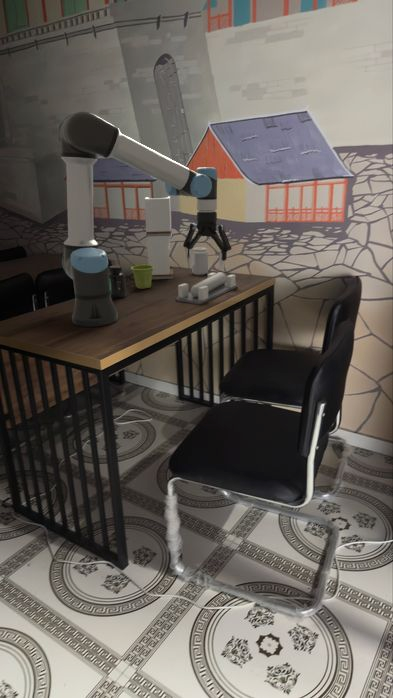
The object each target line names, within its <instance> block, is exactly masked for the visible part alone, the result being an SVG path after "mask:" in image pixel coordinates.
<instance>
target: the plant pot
mask: <svg viewBox="0 0 393 698" xmlns="http://www.w3.org/2000/svg"><path fill="white" fill-rule="evenodd" d="M130 268H131V269H130V270H132V273H133V277H134V282H135V285H136V288H137V289H141V290H144V289H149V288H151V287H152V280H153V279H152V271H153V268H154V266H152V265H148V264H137V265H134V266H133V265H132V266H131V267H130Z"/></svg>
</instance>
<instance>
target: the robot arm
mask: <svg viewBox="0 0 393 698" xmlns="http://www.w3.org/2000/svg"><path fill="white" fill-rule="evenodd" d="M57 135H58V136H57V137H58V141H59V144H60V151H61V152H60V156H61V157H60V158H61V159H62V160H63V162H64V163H65V164H66V166H65V167H66V198H67V199H66V200H67V201H66V203H67V207H66V208H67V231H68V232H67V235H68V236H67V237H68V238H66V240H65V241H64V242H63V255H62V258H61V264H62V266H61V267H62V268H63V271H64V273H65V274H66V275H67V277H69V278H70V279H72V281H73V288H74V289H73V290H74V305H73V312H72V314H71V320H72V324H73V325H76V326H78V327H88V328H89V327H91V328H92V327H93V328H94V327H102V326H106V325H111V324H113V323H115V322H116V321H118V319H119V315H118V311H117V308H115V304H114V301H113V298H111V294H110V282H109V273H110V272H109V259H108V256H107V255H108V254H107V253H106V252H105V250H103V249H100V248H99V243H98V242H97V241H96V239H95V238H94V236H95V234H94V233H95V232H94V165H95V164H96V163H97V162H98V156H101V157H103V158H106V159H111V158H113V159H115V160H117V161H119V162H121V163H123V164H125V165H128V166H130V167H131V168H133V169H135V170H138V171H139V172H142V173H144V174H146V175H148V176H150V177H152V178H155V179H156V180H158V181H161V182H163V183H164V187H165V191H166V193H167V195H168V196H170V197H171V196H175V197H177V196H178V197H179V196H184V197H193V198H196V210H197V212H196V221H197V223H195V222H192V223H190V224H189V230H188V232H187V235H186V237H185V240H184V242H183V245H182V246H183V248H185V249H187V258H189V267H192V266H193V265H195V249H194V248H195V247H194V246H195V245H196V243H198V242H199V240H200V239H201V237H210V238H211V239H212V240H213V241H214V242H215V244H216V246H217V247H218V248H219V251H220V252H219V270H225V268H226V267H225V261H227V258H228V257H227V253H228V251H231V250H232V246H231V243H230V241H229V238H228V236H227V234H226V231H225V225H224V224H220V225H218V224H217V221H218V219H217V218H218V217H217V216H218V212H217V209H218V170H217V169H216V168H215V167H197V168H196V171H194V170H192V169H190V168H189V167H186V166H185V165H183V164H181V163H179V162H176V161H175V160H172V159H171V158H169V157H167V156H165V155H163V154H161V153H159V152H158V151H156V150H154V149H152V148H150V147H147V146H146V145H144V144H142V143H140V142H138V141H137V140H134V139H133V138H131V137H129V136H127V135H125V134H123V133H121V131H120V128H119V127H117V126H115V125H113V124H112V123H110V122H108V121H107V120H104V119H103V118H101V117H99V116H98V115H96V114H95V113H91V112H90V111H84V110H83V111H77V112H74V113H72V114H69V115H67V116H66V117H64V118H63V119H62V120H61V122H60V124H59V126H58V131H57ZM196 230H197V231H196ZM217 231H218V232H217ZM194 234H195V235H194ZM193 236H194V237H193Z"/></svg>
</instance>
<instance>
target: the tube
mask: <svg viewBox="0 0 393 698" xmlns="http://www.w3.org/2000/svg"><path fill="white" fill-rule="evenodd" d="M227 276H228V275H227V274H225V272H220V271H218V272H216V274H215V275H213V276H211V277H209V278H208V277H207V278H205V279H204V280H202V281H199V282H197V283H195V284H194V285H192V287H191V288H190V292H191V295H192V296H193V297H196V298H198V288H200V287H202V286H208V293H209V292H211V291H212V290H214V289H216V288H218V287H219V286H221V285H224V284H225V283H227Z"/></svg>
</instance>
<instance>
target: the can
mask: <svg viewBox="0 0 393 698" xmlns="http://www.w3.org/2000/svg"><path fill="white" fill-rule="evenodd" d="M193 249H195V265H193V266H191V271H192V274H193V275H195V276H205V274H206V275H208V274H209V251H208V250H207V248H206V247H194V248H193Z"/></svg>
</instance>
